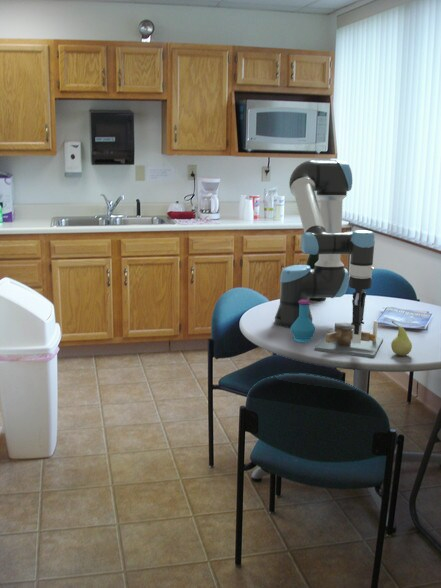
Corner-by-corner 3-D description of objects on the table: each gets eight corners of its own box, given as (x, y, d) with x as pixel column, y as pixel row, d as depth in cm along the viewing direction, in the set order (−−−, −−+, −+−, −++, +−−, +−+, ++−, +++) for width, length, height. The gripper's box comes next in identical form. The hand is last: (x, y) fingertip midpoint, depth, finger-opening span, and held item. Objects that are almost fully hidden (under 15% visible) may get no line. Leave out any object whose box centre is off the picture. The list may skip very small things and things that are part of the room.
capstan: (324, 347, 239) (325, 329, 238) (334, 335, 254) (335, 317, 253) (371, 353, 234) (372, 334, 232) (378, 340, 249) (379, 322, 247)
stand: (314, 349, 242) (315, 325, 240) (327, 334, 261) (328, 311, 259) (373, 357, 234) (375, 332, 232) (382, 340, 253) (384, 317, 251)
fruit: (409, 359, 233) (412, 325, 230) (387, 356, 236) (390, 323, 233) (412, 353, 239) (414, 321, 236) (390, 351, 242) (392, 318, 239)
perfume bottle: (285, 339, 254) (286, 300, 250) (300, 334, 260) (302, 296, 256) (304, 344, 247) (306, 305, 244) (320, 339, 254) (322, 300, 250)
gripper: (368, 281, 224) (364, 349, 230) (374, 273, 236) (370, 338, 241) (345, 279, 227) (341, 346, 232) (353, 271, 238) (349, 336, 244)
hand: (356, 342), depth 237 cm, fingers closed
